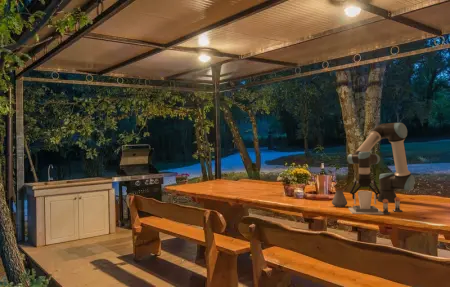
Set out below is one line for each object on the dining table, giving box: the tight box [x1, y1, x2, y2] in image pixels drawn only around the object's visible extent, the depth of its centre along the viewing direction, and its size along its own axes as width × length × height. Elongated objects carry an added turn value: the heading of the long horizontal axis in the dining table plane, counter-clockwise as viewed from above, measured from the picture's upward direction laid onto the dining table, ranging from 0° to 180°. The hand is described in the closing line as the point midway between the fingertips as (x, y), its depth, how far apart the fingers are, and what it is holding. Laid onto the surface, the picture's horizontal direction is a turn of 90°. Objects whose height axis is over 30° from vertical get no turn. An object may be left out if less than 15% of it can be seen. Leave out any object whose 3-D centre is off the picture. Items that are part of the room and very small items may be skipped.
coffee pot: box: [331, 184, 351, 208], centre depth 291 cm, size 21×12×15 cm, turn 134°
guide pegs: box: [382, 196, 403, 216], centre depth 258 cm, size 6×20×10 cm, turn 124°
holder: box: [347, 205, 385, 215], centre depth 263 cm, size 20×20×3 cm
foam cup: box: [357, 190, 373, 209], centre depth 263 cm, size 10×9×13 cm
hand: (365, 203), depth 263 cm, fingers open, 13 cm apart
